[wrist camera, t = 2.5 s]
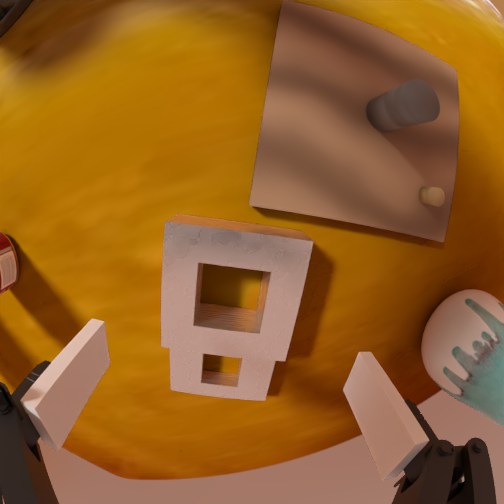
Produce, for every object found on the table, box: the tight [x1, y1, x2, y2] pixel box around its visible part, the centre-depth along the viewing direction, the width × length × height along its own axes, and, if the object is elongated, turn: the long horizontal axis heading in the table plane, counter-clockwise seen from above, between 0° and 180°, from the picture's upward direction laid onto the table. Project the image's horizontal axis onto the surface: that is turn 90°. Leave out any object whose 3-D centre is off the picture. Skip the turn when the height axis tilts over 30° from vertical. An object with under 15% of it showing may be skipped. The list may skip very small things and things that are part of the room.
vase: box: [421, 289, 504, 427], centre depth 17 cm, size 12×12×18 cm
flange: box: [161, 214, 313, 401], centre depth 22 cm, size 17×10×4 cm, turn 172°
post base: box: [249, 0, 459, 243], centre depth 16 cm, size 19×19×8 cm
